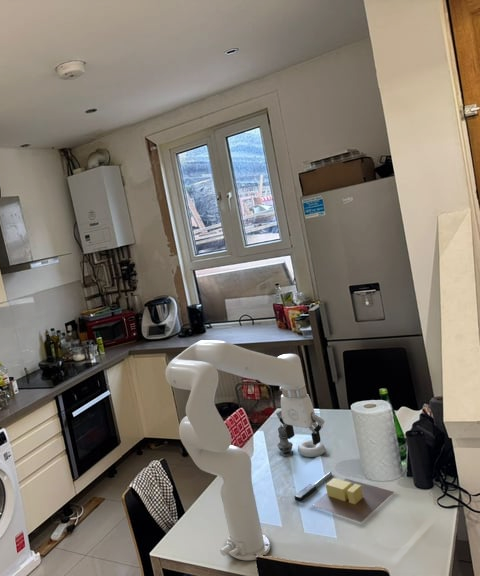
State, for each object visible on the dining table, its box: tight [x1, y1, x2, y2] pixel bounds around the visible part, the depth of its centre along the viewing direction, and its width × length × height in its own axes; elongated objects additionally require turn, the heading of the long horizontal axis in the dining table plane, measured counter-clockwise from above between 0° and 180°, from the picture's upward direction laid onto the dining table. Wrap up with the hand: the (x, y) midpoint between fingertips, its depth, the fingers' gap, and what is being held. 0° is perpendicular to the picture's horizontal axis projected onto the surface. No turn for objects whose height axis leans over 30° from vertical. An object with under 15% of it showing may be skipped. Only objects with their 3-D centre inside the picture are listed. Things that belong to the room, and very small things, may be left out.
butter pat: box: [347, 484, 363, 504], centre depth 160 cm, size 5×2×4 cm, turn 124°
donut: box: [297, 439, 326, 458], centre depth 198 cm, size 10×4×10 cm
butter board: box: [311, 478, 394, 523], centre depth 161 cm, size 20×16×1 cm
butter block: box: [325, 477, 352, 501], centre depth 164 cm, size 5×6×4 cm
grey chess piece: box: [276, 424, 294, 457], centre depth 201 cm, size 6×6×12 cm
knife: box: [294, 470, 333, 503], centre depth 172 cm, size 20×2×3 cm, turn 124°
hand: (303, 440), depth 169 cm, fingers open, 9 cm apart
